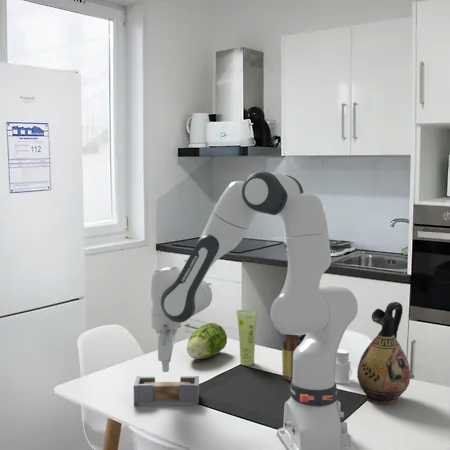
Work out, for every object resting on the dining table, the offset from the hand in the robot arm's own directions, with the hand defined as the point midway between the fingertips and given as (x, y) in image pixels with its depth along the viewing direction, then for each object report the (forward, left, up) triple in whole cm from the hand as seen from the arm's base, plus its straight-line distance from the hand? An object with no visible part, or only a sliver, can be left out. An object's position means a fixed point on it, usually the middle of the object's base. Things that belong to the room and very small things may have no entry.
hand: (166, 366), depth 183 cm
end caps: (0, 0, -11) cm, 11 cm away
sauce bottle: (+18, -40, -11) cm, 45 cm away
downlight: (+16, -56, -11) cm, 59 cm away
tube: (+33, -26, -11) cm, 44 cm away
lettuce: (+40, -11, -11) cm, 43 cm away
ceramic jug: (0, -66, -11) cm, 67 cm away
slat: (0, 0, -10) cm, 10 cm away
